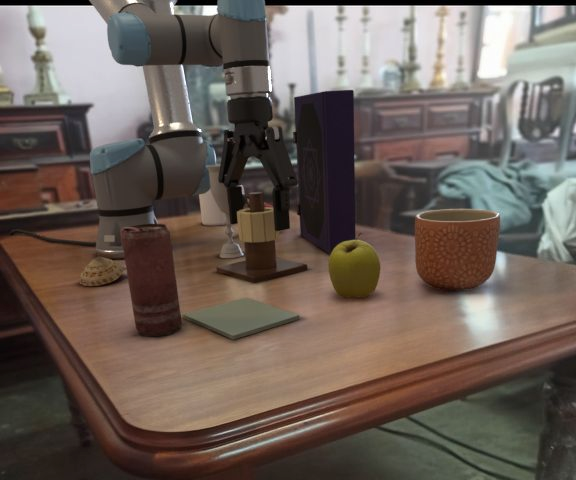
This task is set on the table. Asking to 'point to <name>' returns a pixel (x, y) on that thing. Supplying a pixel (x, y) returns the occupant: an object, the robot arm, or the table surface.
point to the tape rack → (260, 256)
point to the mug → (211, 210)
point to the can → (151, 278)
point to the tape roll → (256, 226)
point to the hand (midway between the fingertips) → (258, 226)
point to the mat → (240, 317)
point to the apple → (354, 268)
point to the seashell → (100, 272)
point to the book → (326, 167)
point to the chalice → (222, 201)
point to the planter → (456, 247)
